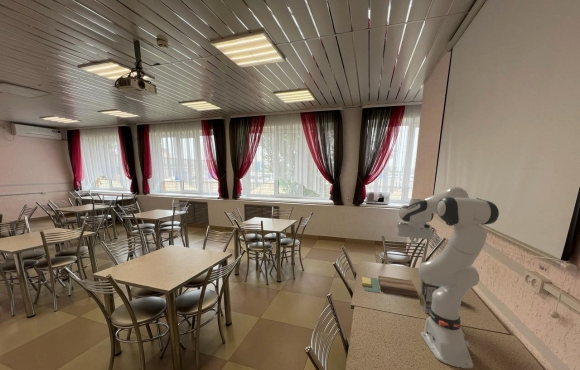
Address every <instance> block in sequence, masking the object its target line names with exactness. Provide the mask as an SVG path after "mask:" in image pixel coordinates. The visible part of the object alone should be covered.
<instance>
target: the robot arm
mask: <svg viewBox="0 0 580 370" xmlns="http://www.w3.org/2000/svg"><path fill="white" fill-rule="evenodd" d="M436 214H437V215H438V217H439V218H440V219H441V220H442V221H444V222H445V224H446V225H448V226H453V228H454V229H453V233H452V234H451V236H450V237H449V239H448V241H447V243H446V244H445V247H444V248H443V249H442V250H441V252H439V253H438V254H437V255H436V256H434V257H433V258H431V259H429V260H427V261H424V262H422V263H420V264H419V267H418V275H419V278H420V280H421V279H422V280H423V281H424V282H425V283H427V284H431V285H435V286H441V287H440V288H438V289H437V290H435V291H434V292H433V294H432V304H431V307H430V314H429V316H428V318H426V319H425V325H424V331H421V332H420V336H421V338H422V339H423V341H424V342H425V343H426V345H427V347H428V349H429V350H430V352H432V354H433V356H434V357H435V358H436V360H438V361H440V362H442V363H444V364H446V365H448V366H449V365H450V366H453V367H457V368H460V367H461V368H460V369H473V368H474V363H473V360H472V357H471V355H470V352H469V349H468V348H470V342H469V341H468V340H465V336H466V334H465V333H464V332H463V330H462V324H461V321H462V320H461V316H460V311H461V304H462V301H463V299H464V297H465V296H466V294H467V293H468V291H469V290H470V289H472V288H474V287H476V286H477V285H478V284H479V282H480V274H479V272H478V270H477V269H476V267H475V266H473V264H474V263H475V261H476V259H477V258H478V256H479V255H480V253H481V251H482V250H483V248H484V246H485V244H486V243H485V242H486V240H487V236H488V234H487V233H488V232H487V230H486V229H485V228H484V226H486V225H491V224H494V223H496V221H497V220H498V218H499V215H500V212H499V207H498V206H497V205H496V204H495V203H494V202H493V201H492V202H491V201H489V200H486V199H482V198H478V197H476V198H471V197H469V193H468V192H467V191H466V190H465V189H464V188H462V187H459V186H452V187H449V188H448V187H447V188H445V189H443V190H441V191H439V192H438V193H435V194H433V195H431V196H429V197H426V198H423V199H416V198H415V199H410V200H409V203H408V205H402V206H401V207H400V208H399V211H398V216H399V219H400V220H402V222H399V223H397V226H396V227H397V232H396V233H397V234H396V235H397V236H398V237H403V238H409V240H410V245H417V243H418V242H419V240H420V239H421V240H422V239H424V240H432V239H433V238H434V237H433V235H434V233H433V230H432V225H431V224H430V222H432V220H433V219H434V216H435V215H436ZM482 225H484V226H482ZM413 238H414V239H415V240H413Z"/></svg>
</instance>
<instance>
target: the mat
mask: <svg viewBox="0 0 580 370" xmlns="http://www.w3.org/2000/svg"><path fill="white" fill-rule="evenodd" d="M362 277H365V275H364V276H362ZM366 277H367V278H371V287H369V286H363V287H364V291H365V292H372V293H377V294H381V290H380V286H379V282H378V278H377V277H369V276H366Z"/></svg>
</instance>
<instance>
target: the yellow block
mask: <svg viewBox="0 0 580 370" xmlns="http://www.w3.org/2000/svg"><path fill="white" fill-rule="evenodd" d="M367 277H368V276H364V277H363V276H361V285H362V287H364V286H369V287H371V278H372V277H370V278H367Z"/></svg>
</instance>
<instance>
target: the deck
mask: <svg viewBox="0 0 580 370" xmlns="http://www.w3.org/2000/svg"><path fill="white" fill-rule="evenodd" d="M377 280H378V284H379V289H380V292H385V293H392V294H397V295H403V296H409V297H415V298H416V297H418V290H417V288H416V287H415V284H414V282H413V281H412V280H410V279H402V278H398V277H397V278H396V277H395V278H394V277H389V276H382V275H378V278H377Z"/></svg>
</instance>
